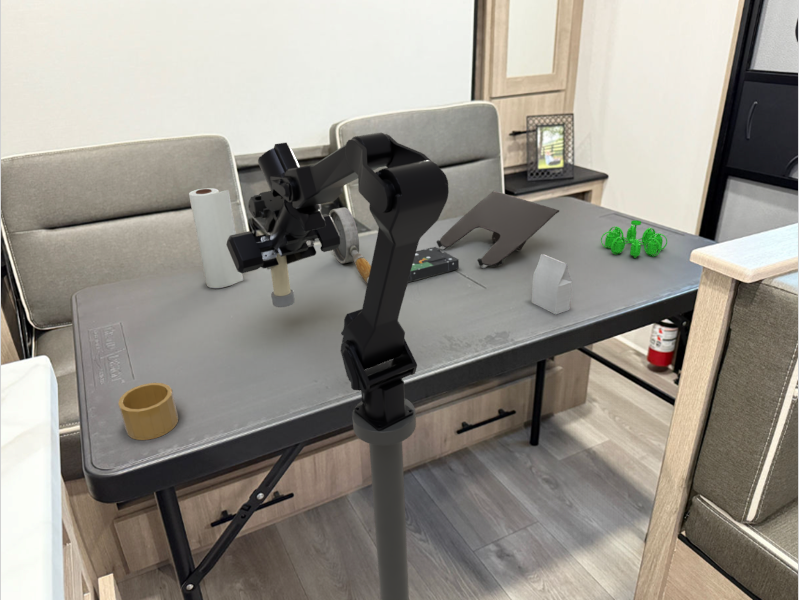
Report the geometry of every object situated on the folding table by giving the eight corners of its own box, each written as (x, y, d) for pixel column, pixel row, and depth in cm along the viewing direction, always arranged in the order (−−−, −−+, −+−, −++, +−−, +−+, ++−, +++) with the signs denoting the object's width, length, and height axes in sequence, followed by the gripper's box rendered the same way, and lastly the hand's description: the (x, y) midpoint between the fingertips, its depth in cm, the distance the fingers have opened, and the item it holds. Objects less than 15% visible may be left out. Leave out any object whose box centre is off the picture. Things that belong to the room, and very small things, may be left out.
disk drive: (434, 257, 146) (381, 269, 140) (434, 246, 145) (380, 258, 139) (459, 270, 138) (403, 284, 132) (459, 259, 137) (403, 272, 131)
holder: (185, 426, 88) (178, 397, 86) (134, 447, 84) (126, 417, 82) (168, 404, 94) (162, 377, 91) (120, 423, 90) (112, 395, 88)
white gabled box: (555, 314, 116) (559, 266, 112) (531, 302, 122) (534, 256, 117) (569, 309, 118) (573, 262, 114) (545, 297, 123) (548, 251, 119)
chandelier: (661, 240, 151) (665, 213, 148) (670, 262, 138) (675, 233, 135) (598, 237, 154) (601, 211, 151) (601, 258, 141) (604, 230, 138)
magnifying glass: (382, 256, 127) (340, 197, 144) (368, 258, 126) (327, 199, 143) (378, 303, 135) (338, 242, 152) (365, 306, 134) (327, 244, 151)
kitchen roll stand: (298, 302, 110) (289, 227, 104) (279, 309, 108) (268, 233, 102) (288, 296, 113) (278, 222, 107) (268, 302, 111) (258, 227, 105)
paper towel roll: (200, 286, 135) (182, 193, 126) (218, 276, 140) (202, 186, 131) (226, 291, 132) (209, 196, 123) (243, 281, 137) (228, 188, 128)
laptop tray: (441, 264, 157) (427, 238, 152) (501, 211, 163) (491, 183, 157) (501, 293, 139) (488, 265, 134) (566, 232, 145) (557, 202, 140)
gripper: (327, 168, 102) (305, 216, 115) (220, 188, 93) (209, 238, 106) (354, 224, 100) (328, 266, 113) (247, 250, 90) (232, 293, 103)
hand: (275, 264), depth 109 cm, fingers closed on kitchen roll stand, 3 cm apart
